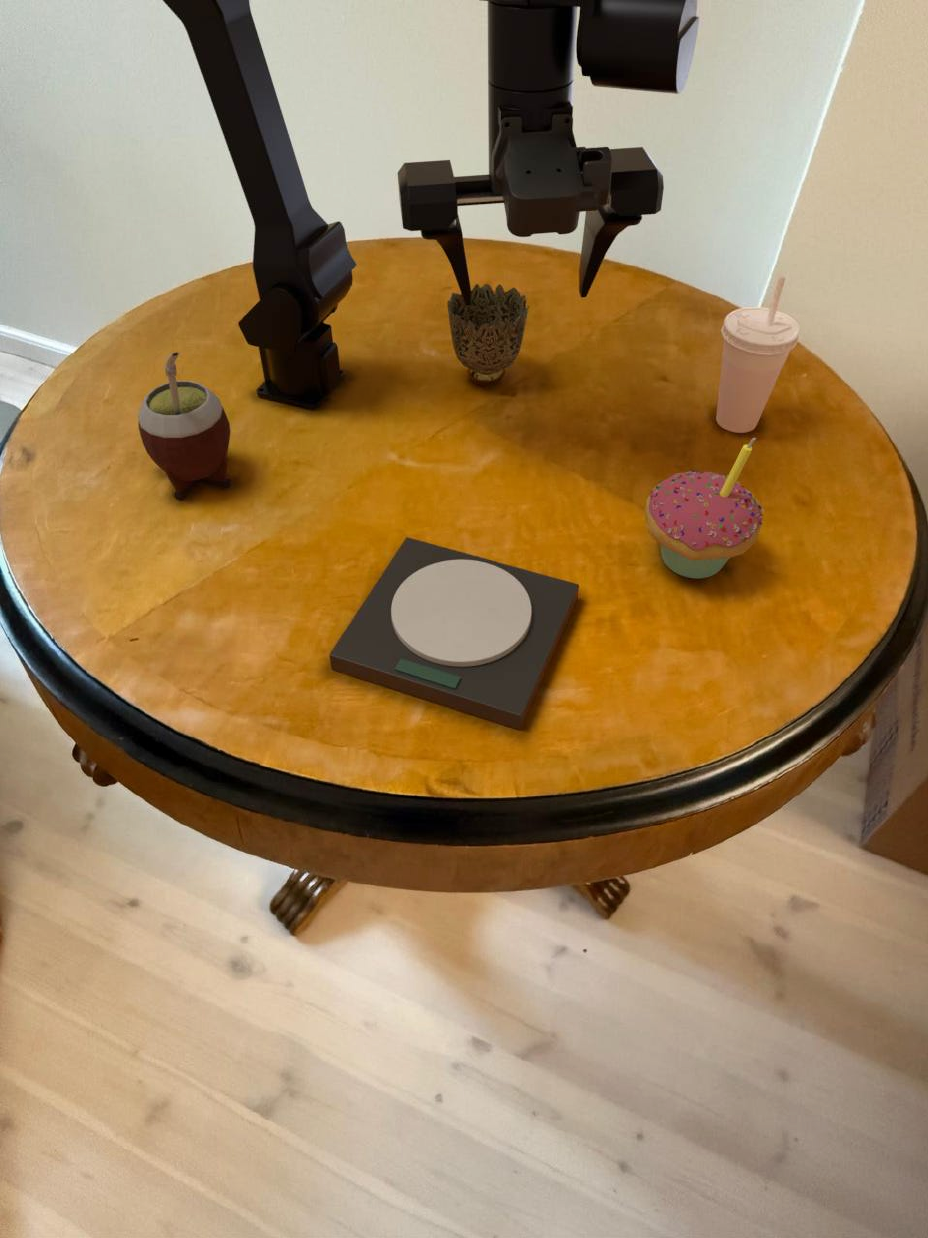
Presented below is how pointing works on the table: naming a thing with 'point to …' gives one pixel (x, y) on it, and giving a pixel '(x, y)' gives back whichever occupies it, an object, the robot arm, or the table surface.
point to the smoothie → (752, 361)
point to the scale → (458, 631)
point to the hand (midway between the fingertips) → (525, 299)
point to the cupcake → (703, 519)
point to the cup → (487, 331)
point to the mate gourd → (186, 433)
